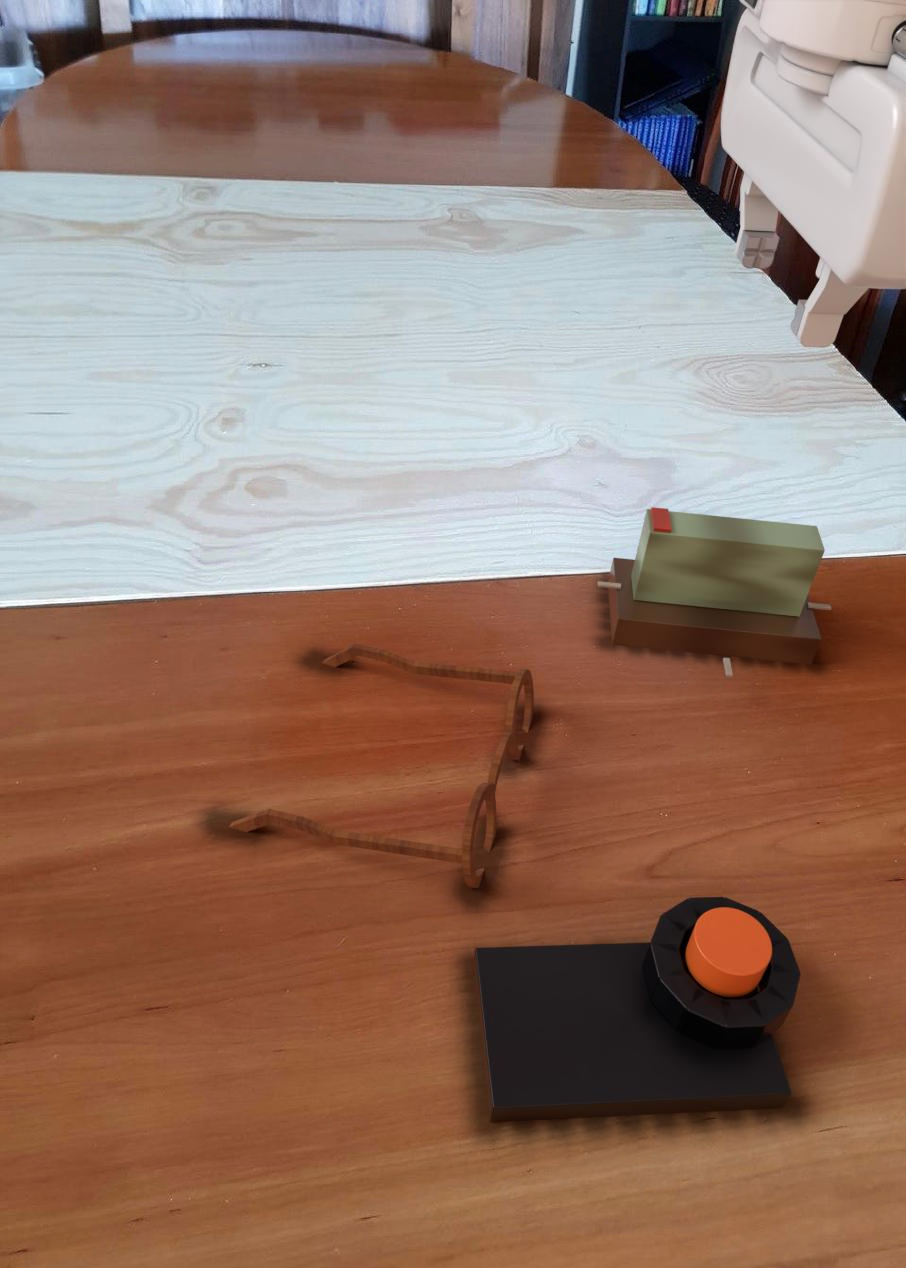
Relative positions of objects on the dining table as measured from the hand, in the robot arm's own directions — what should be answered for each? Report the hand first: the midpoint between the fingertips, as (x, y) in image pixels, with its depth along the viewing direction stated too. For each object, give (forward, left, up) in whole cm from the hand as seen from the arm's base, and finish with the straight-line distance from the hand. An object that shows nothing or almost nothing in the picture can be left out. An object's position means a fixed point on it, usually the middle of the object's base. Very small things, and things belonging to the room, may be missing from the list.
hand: (778, 299), depth 56 cm
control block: (+25, +20, -20) cm, 38 cm away
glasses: (+25, +2, -20) cm, 33 cm away
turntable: (+2, +3, -20) cm, 21 cm away
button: (+21, +21, -17) cm, 34 cm away
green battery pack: (+2, +3, -17) cm, 18 cm away
